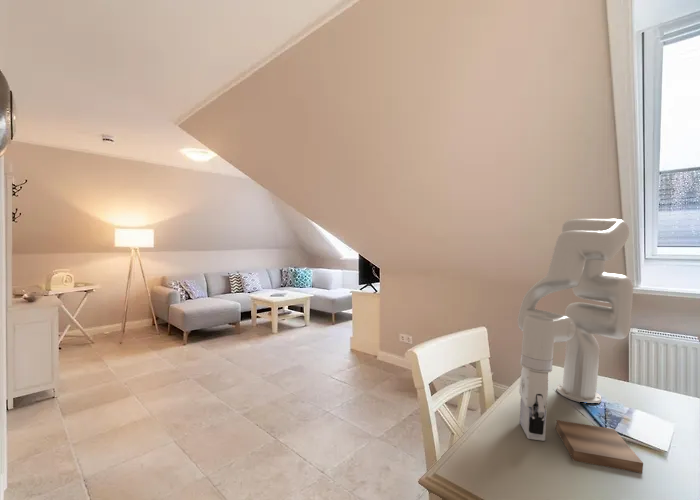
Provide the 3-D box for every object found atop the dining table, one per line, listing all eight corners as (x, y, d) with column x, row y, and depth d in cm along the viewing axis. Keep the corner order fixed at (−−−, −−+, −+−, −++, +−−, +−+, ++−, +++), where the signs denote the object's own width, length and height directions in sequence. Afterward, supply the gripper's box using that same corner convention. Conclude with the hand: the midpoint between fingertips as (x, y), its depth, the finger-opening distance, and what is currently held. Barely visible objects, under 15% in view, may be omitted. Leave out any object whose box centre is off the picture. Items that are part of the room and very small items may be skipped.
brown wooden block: (555, 428, 96) (556, 419, 96) (613, 438, 93) (614, 429, 93) (573, 460, 83) (574, 450, 83) (642, 473, 79) (643, 463, 79)
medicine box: (545, 442, 90) (547, 410, 89) (526, 439, 91) (529, 407, 90) (535, 425, 98) (537, 395, 97) (518, 422, 99) (520, 393, 98)
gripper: (514, 349, 102) (510, 406, 103) (528, 372, 86) (523, 440, 87) (542, 352, 100) (538, 410, 102) (562, 377, 84) (557, 446, 85)
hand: (531, 423), depth 94 cm, fingers closed on medicine box, 8 cm apart
